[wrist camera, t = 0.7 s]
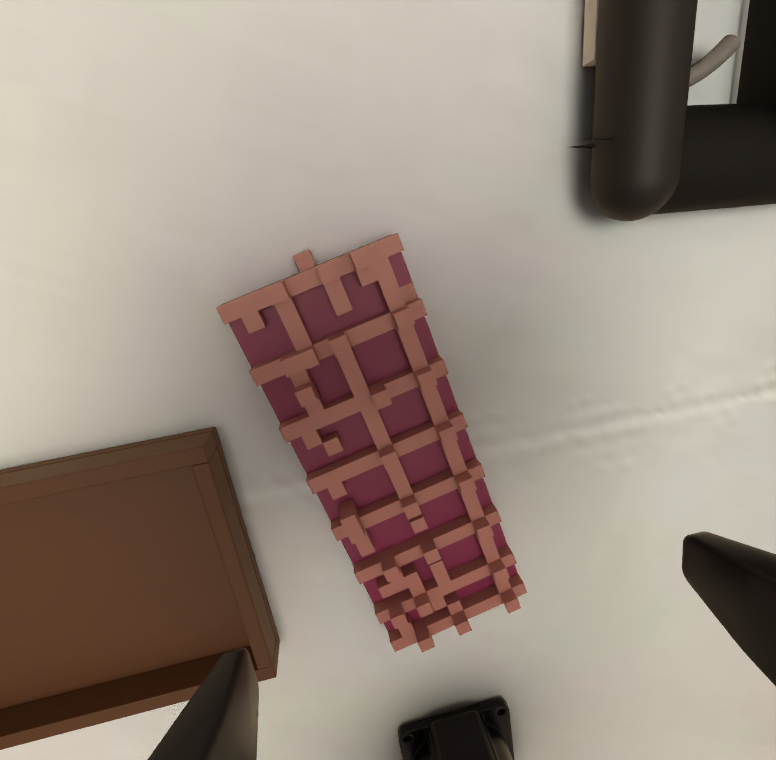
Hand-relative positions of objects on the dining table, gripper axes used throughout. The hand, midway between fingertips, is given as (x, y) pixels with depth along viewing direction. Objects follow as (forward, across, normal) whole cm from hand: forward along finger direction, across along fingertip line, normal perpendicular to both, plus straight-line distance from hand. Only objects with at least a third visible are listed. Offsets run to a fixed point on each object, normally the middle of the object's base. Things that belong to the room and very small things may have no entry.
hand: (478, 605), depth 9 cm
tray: (+12, +19, +5) cm, 23 cm away
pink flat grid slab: (+12, 0, +2) cm, 12 cm away
